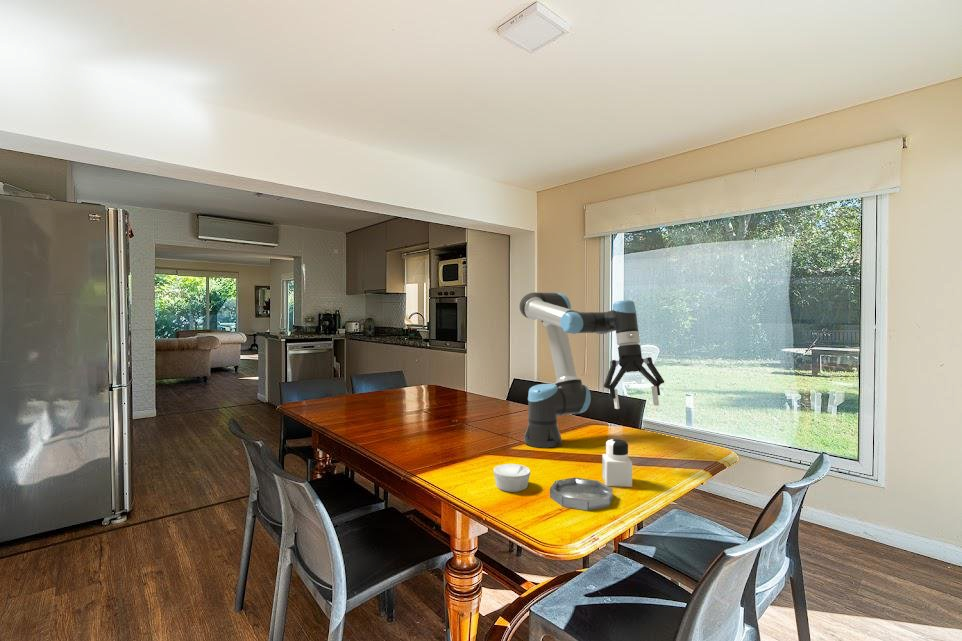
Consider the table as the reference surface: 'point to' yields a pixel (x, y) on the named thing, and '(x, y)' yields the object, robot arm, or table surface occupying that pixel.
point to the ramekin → (511, 477)
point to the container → (617, 464)
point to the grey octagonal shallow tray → (581, 494)
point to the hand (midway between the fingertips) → (636, 407)
